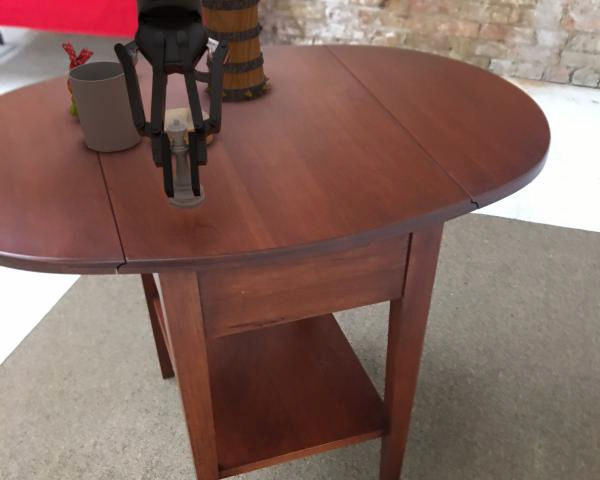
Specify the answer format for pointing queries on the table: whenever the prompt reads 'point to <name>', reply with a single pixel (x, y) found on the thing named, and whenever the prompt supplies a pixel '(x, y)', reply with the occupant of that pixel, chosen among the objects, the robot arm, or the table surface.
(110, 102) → the cup
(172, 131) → the chess piece
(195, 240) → the table surface
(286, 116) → the table surface
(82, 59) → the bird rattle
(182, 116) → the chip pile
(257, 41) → the mug
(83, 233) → the table surface
